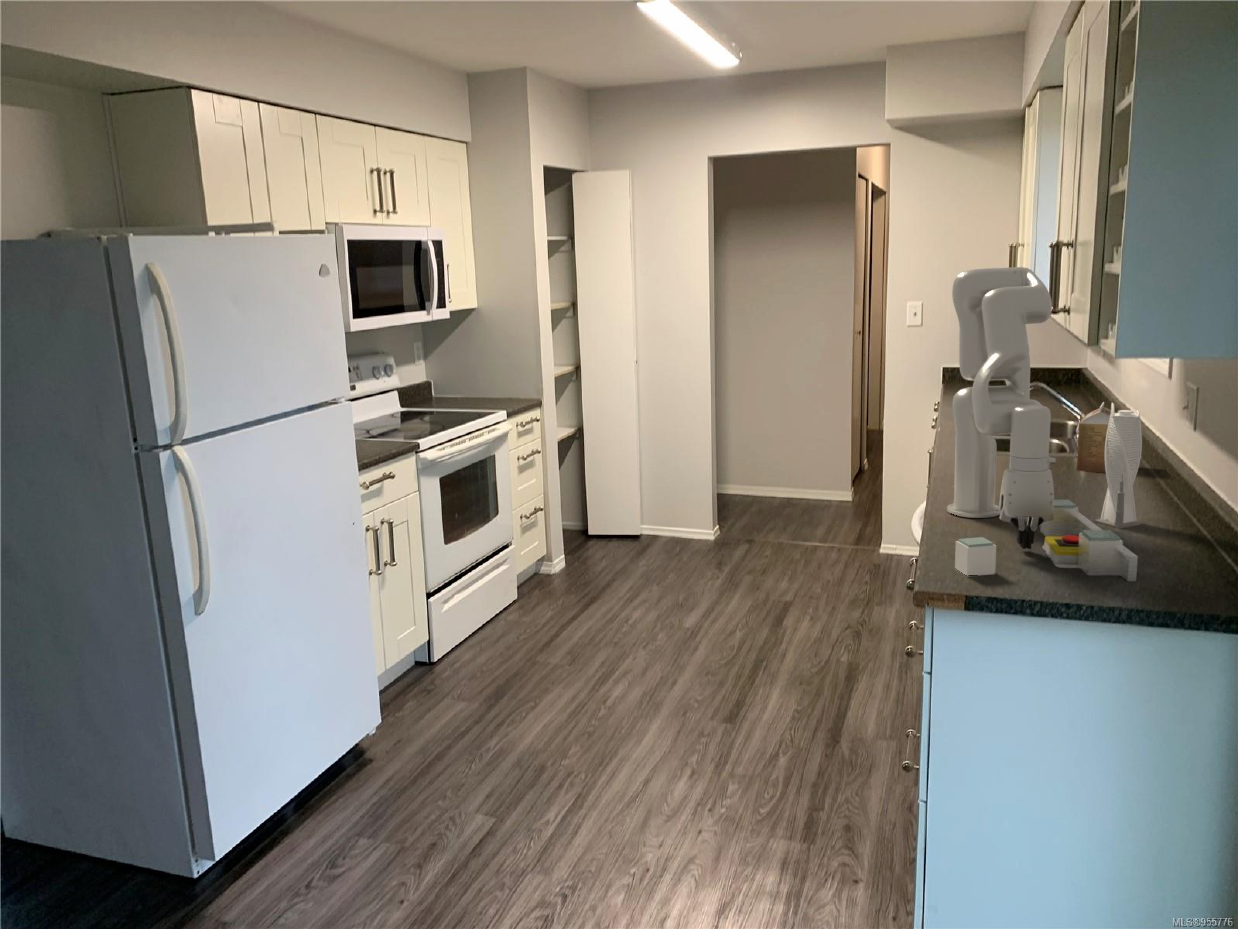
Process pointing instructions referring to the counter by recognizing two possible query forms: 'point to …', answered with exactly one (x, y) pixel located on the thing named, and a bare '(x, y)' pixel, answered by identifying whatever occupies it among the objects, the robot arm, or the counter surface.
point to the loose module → (975, 556)
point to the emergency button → (1062, 550)
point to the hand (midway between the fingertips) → (1025, 546)
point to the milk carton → (1093, 440)
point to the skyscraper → (1121, 468)
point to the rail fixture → (1092, 543)
